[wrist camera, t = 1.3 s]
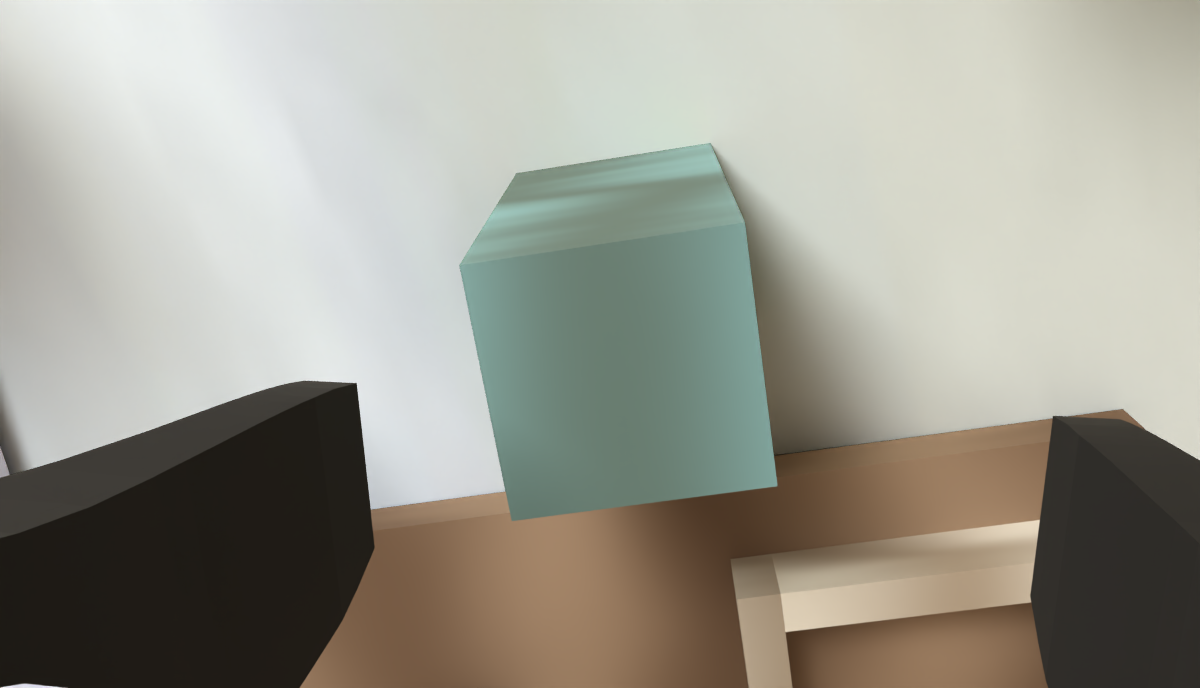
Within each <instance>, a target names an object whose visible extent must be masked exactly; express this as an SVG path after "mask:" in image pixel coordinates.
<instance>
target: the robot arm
mask: <svg viewBox="0 0 1200 688" xmlns="http://www.w3.org/2000/svg"><path fill="white" fill-rule="evenodd" d="M374 549H375V545H374V536H373V527H372V518H371V509H370V500H369V491H368V482H367V473H366V464H365V455H364V446H363V437H362V428H361V419H360V410H359V401H358V392H357V383H339V382H318V381H300V382H294V383H288V384H284V385H280V386H276V387H273V388H269V389H266V390H262V391H259V392H256V393H253V394H250V395H247V396H244V397H241V398H238V399H235V400H232V401H230V402H227V403H224V404H221V405H218V406H215V407H213V408H210V409H207V410H204V411H202V412H199V413H196V414H194V415H191V416H188V417H185V418H183V419H180V420H177V421H174V422H172V423H169V424H166V425H163V426H161V427H158V428H155V429H152V430H150V431H147V432H144V433H141V434H138V435H135V436H132V437H129V438H126V439H123V440H120V441H117V442H114V443H111V444H108V445H105V446H102V447H99V448H96V449H93V450H90V451H87V452H84V453H81V454H78V455H75V456H72V457H69V458H66V459H63V460H60V461H57V462H54V463H50V464H47V465H44V466H40V467H37V468H33V469H30V470H26V471H23V472H19V473H16V474H12V475H10V474H9V471H8V468H7V465H6V462H5V459H4V456H3V453H2V451H1V448H0V688H300V687H301V685H302V684H303V682H304V680H305V679H306V677H307V676H308V674H309V673H310V671H311V670H312V668H313V667H314V665H315V663H316V662H317V660H318V659H319V657H320V656H321V654H322V652H323V651H324V649H325V648H326V646H327V645H328V643H329V642H330V640H331V638H332V637H333V635H334V634H335V632H336V630H337V629H338V627H339V625H340V624H341V622H342V621H343V619H344V616H345V614H346V612H347V610H348V608H349V606H350V604H351V602H352V599H353V597H354V595H355V593H356V591H357V589H358V587H359V584H360V582H361V579H362V577H363V575H364V572H365V570H366V568H367V565H368V563H369V560H370V558H371V556H372V553H373V551H374ZM1030 598H1031V604H1032V610H1033V615H1034V621H1035V627H1036V633H1037V639H1038V644H1039V649H1040V654H1041V659H1042V664H1043V669H1044V674H1045V680H1046V683H1047V686H1048V688H1200V460H1198V459H1196V458H1194V457H1193V456H1191V455H1189V454H1188V453H1186V452H1184V451H1182V450H1181V449H1179V448H1177V447H1175V446H1174V445H1172V444H1170V443H1168V442H1167V441H1165V440H1163V439H1161V438H1159V437H1158V436H1156V435H1154V434H1152V433H1150V432H1148V431H1146V430H1144V429H1142V428H1140V427H1138V426H1136V425H1134V424H1132V423H1129V422H1126V421H1124V420H1121V419H1107V418H1086V417H1064V416H1053V420H1052V428H1051V436H1050V444H1049V452H1048V460H1047V467H1046V475H1045V483H1044V491H1043V499H1042V507H1041V515H1040V523H1039V530H1038V538H1037V546H1036V554H1035V562H1034V570H1033V578H1032V585H1031V593H1030Z"/></svg>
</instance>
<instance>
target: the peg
mask: <svg viewBox="0 0 1200 688" xmlns="http://www.w3.org/2000/svg"><path fill="white" fill-rule="evenodd" d="M459 266H460V271H461V276H462V281H463V285H464V290H465V295H466V300H467V305H468V310H469V315H470V320H471V325H472V329H473V334H474V339H475V344H476V349H477V354H478V359H479V364H480V369H481V373H482V378H483V383H484V388H485V393H486V398H487V403H488V408H489V413H490V418H491V422H492V427H493V432H494V437H495V442H496V447H497V452H498V457H499V462H500V466H501V471H502V476H503V481H504V486H505V491H506V496H507V501H508V506H509V510H510V515H511V520H512V521H517V520H525V519H532V518H540V517H548V516H555V515H563V514H570V513H578V512H586V511H593V510H601V509H608V508H616V507H623V506H631V505H639V504H646V503H654V502H661V501H669V500H677V499H684V498H692V497H699V496H707V495H715V494H722V493H730V492H737V491H745V490H753V489H760V488H768V487H775V486H777V477H776V469H775V461H774V453H773V445H772V437H771V429H770V421H769V413H768V405H767V397H766V389H765V381H764V372H763V364H762V356H761V348H760V340H759V332H758V324H757V316H756V308H755V300H754V292H753V284H752V276H751V268H750V259H749V251H748V243H747V235H746V227H745V221H744V219H743V217H742V215H741V212H740V210H739V208H738V205H737V203H736V201H735V199H734V196H733V194H732V192H731V189H730V187H729V185H728V183H727V180H726V178H725V176H724V173H723V171H722V169H721V167H720V164H719V162H718V160H717V157H716V155H715V153H714V151H713V148H712V146H711V144H710V143H708V144H702V145H695V146H689V147H682V148H676V149H670V150H663V151H657V152H650V153H644V154H638V155H631V156H625V157H619V158H612V159H606V160H599V161H593V162H587V163H580V164H574V165H567V166H561V167H555V168H548V169H542V170H536V171H529V172H523V173H516V175H515V177H514V178H513V180H512V181H511V183H510V185H509V186H508V188H507V190H506V191H505V193H504V194H503V196H502V198H501V199H500V201H499V202H498V204H497V206H496V207H495V209H494V210H493V212H492V214H491V215H490V217H489V219H488V220H487V222H486V223H485V225H484V227H483V228H482V230H481V231H480V233H479V235H478V236H477V238H476V239H475V241H474V243H473V244H472V246H471V248H470V249H469V251H468V252H467V254H466V256H465V257H464V259H463V260H462V262H461V264H460V265H459Z"/></svg>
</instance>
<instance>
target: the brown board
mask: <svg viewBox="0 0 1200 688" xmlns="http://www.w3.org/2000/svg"><path fill="white" fill-rule="evenodd" d="M1068 417H1086V418H1107V419H1121V420H1124V421H1126V422H1129V423H1132V424H1134V425H1136V426H1138V427H1140V428H1142V429H1144V428H1143V427H1142V426H1141V425H1140V424H1139V423H1138V422H1137V421H1135V420H1134V419H1133V418H1132V417H1131V416H1130V415H1129V414H1128V413H1126V412H1125V411H1124V410H1123V409H1121V410H1113V411H1106V412H1098V413H1091V414H1083V415H1076V416H1068ZM1052 420H1053V419H1046V420H1038V421H1031V422H1023V423H1016V424H1008V425H1001V426H993V427H986V428H979V429H971V430H964V431H956V432H949V433H941V434H934V435H926V436H919V437H911V438H904V439H896V440H889V441H881V442H874V443H866V444H859V445H851V446H844V447H836V448H829V449H821V450H814V451H807V452H799V453H792V454H784V455H777V456H774V461H775V469H776V477H777V486H775V487H768V488H760V489H753V490H745V491H737V492H730V493H722V494H715V495H707V496H699V497H692V498H684V499H677V500H669V501H661V502H654V503H646V504H639V505H631V506H623V507H616V508H608V509H601V510H593V511H586V512H578V513H570V514H563V515H555V516H548V517H540V518H532V519H525V520H517V521H512V520H511V515H510V510H509V506H508V501H507V496H506V492H500V493H492V494H485V495H477V496H470V497H462V498H455V499H448V500H440V501H433V502H425V503H418V504H410V505H403V506H395V507H388V508H380V509H373V510H371V518H372V527H373V536H374V545H375V549H374V551H373V553H372V556H371V558H370V560H369V563H368V565H367V568H366V570H365V572H364V575H363V577H362V579H361V582H360V584H359V587H358V589H357V591H356V593H355V595H354V597H353V599H352V602H351V604H350V606H349V608H348V610H347V612H346V614H345V616H344V619H343V621H342V622H341V624H340V625H339V627H338V629H337V630H336V632H335V634H334V635H333V637H332V638H331V640H330V642H329V643H328V645H327V646H326V648H325V649H324V651H323V652H322V654H321V656H320V657H319V659H318V660H317V662H316V663H315V665H314V667H313V668H312V670H311V671H310V673H309V674H308V676H307V677H306V679H305V680H304V682H303V684H302V685H301V687H300V688H1048V686H1047V683H1046V680H1045V674H1044V669H1043V664H1042V659H1041V654H1040V649H1039V644H1038V639H1037V633H1036V627H1035V621H1034V615H1033V610H1032V604H1031V598H1030V593H1031V585H1032V578H1033V570H1034V562H1035V554H1036V546H1037V538H1038V530H1039V523H1040V515H1041V507H1042V499H1043V491H1044V483H1045V475H1046V467H1047V460H1048V452H1049V444H1050V436H1051V428H1052ZM1144 430H1145V429H1144Z"/></svg>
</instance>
